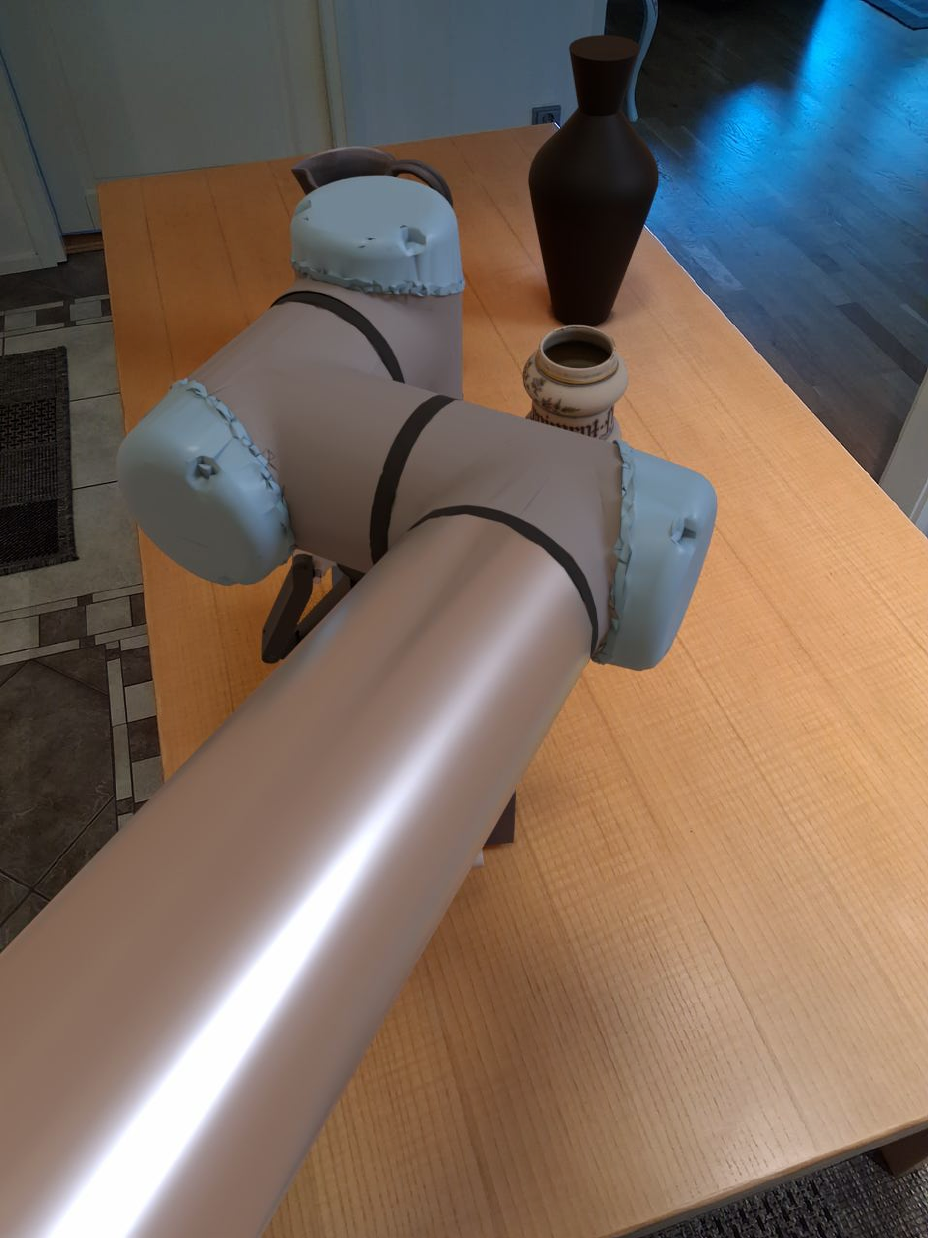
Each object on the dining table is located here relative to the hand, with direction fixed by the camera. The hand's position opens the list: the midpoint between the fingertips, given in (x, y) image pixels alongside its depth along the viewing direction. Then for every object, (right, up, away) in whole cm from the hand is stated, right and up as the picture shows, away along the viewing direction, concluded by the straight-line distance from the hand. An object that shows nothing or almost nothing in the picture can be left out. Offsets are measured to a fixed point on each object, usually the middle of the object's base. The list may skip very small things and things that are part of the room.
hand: (419, 697), depth 66 cm
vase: (+21, +51, +67) cm, 87 cm away
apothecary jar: (+16, +24, +45) cm, 53 cm away
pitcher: (-7, +38, +57) cm, 69 cm away
